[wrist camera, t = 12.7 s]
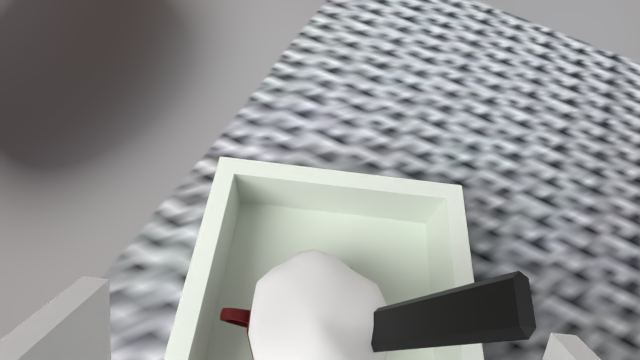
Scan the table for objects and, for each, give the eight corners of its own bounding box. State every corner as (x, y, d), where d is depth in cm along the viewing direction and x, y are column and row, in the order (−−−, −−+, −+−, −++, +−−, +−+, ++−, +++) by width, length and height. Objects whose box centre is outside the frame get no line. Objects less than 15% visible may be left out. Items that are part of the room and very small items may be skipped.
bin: (434, 217, 25) (461, 185, 21) (461, 563, 16) (516, 616, 12) (230, 193, 25) (220, 156, 21) (147, 533, 16) (102, 579, 12)
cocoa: (216, 345, 19) (105, 297, 9) (280, 247, 22) (254, 123, 12) (377, 456, 17) (481, 565, 7) (426, 332, 20) (555, 272, 9)
